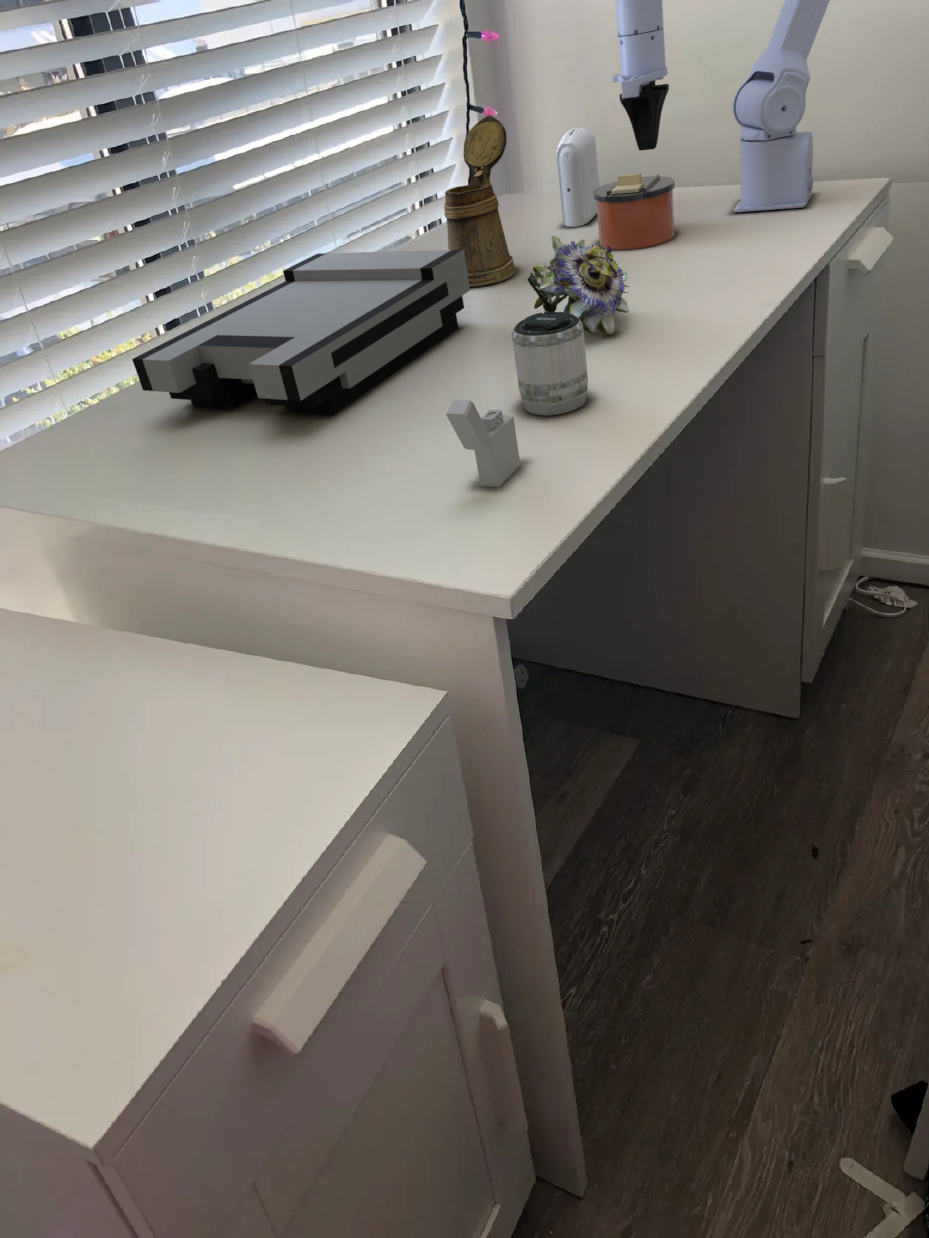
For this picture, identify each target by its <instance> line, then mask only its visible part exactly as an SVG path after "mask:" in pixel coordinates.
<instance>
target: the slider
mask: <svg viewBox="0 0 929 1238" xmlns="http://www.w3.org/2000/svg"><path fill="white" fill-rule="evenodd" d="M641 177H642V173H640V172H639V173H630V174H628V173H627V174H618V175H617V181H618V185H617V186H616V187H615V188H614V189H612V190H611V194H623V193H635V192H639V191H640V190H641V189H642V188H643V187H644V183H642V180H641Z"/></svg>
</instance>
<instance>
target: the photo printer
mask: <svg viewBox="0 0 929 1238" xmlns="http://www.w3.org/2000/svg"><path fill="white" fill-rule="evenodd" d="M555 158H556V159H555V160H556V161H555V162H556V168H557V170H556V171H557V178H558V180H557V181H558V190H559V199H560V209H561V219H562V224H563V226H566V227H567V228H578V227H583V226H584V225H585V224H588V223H589V222H591V220H592V219H593V218H595V216H597V215H596V214H597V204H596V200H595V199H594V196H593V192H594V190H595V189H597V188H598V187H600V177H599V165H598V153H597V141H596V138H595V136H594V134H593V132H592V131H591V130H590V129H589V128H586V127H583V126H582V127H573V128H570V129H569V130H568V131H566V132H565V134H564V135H563V136H562V138H561V139H560V141H559V143H558V145H557V147H556V155H555Z"/></svg>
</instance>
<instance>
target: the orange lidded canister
mask: <svg viewBox="0 0 929 1238" xmlns="http://www.w3.org/2000/svg"><path fill="white" fill-rule="evenodd" d="M641 180H642V183H644V187H643V188H642V189H641V190H640V191H639V192H635V193H623V194H611V190H612V189H614V188H615V187H616V186H617V185H618V180H615V181H613V182H609V183H605V184H603V185H599V187H598V188H597V189H595V190H594V192H593V196H594V199H595V200H596V204H597V213H596V214H597V215H596V216H597V226H598V239H599V240H598V241H599V246H600V247H601V248H604V249H605V246H610V247H611V249H612V250H616V251H617V250H619V251H623V250H625V251H626V250H637V249H643V248H649V247H653V246H657V245H660V244H663V243H666V242H667V241H670V240H672V239H673V238H674V236H675V212H674V191H673V190H674V189H675V187H676V184H675V183H676V181H675V179H674V178H672V177H670V176H661V174H656V175H651V176H649V175H648V176H641Z"/></svg>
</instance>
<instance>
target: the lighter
mask: <svg viewBox="0 0 929 1238" xmlns="http://www.w3.org/2000/svg"><path fill="white" fill-rule="evenodd" d="M445 416H446V417H447V420H448V421H449V423H450V425H451V427H452V428H453V430H454V433H455V434H456V436H457V437H458V438H457V439H459V441H460V443H461V445H462V447H463V448H464V449H465V450H471V451H474V455H475V462H476V466H477V472H478V480H479V485H480V486H481V487H488V488H499V487H501V486H502V485H503V484H504V483H505V482H506V481H507V480H508V479H509V478H510V477H511V476H512V475H513V474H514V473H515V472H516V471H517V470H518V469H519V468H520V467H521V459H520V452H519V445H518V439H517V431H516V424H515V418H514V415H512V414H503V410H501V409H498V408H496V409H489V410H487V411H486V412H485V413H484V414H483V415H482V416H481V415H480V414H479V412H478V410H477V408H476V405H475V404H474V401H472V400H469V399H453V400H452V401H451V403H450V405H449V408H448V410H447V411H446V414H445Z"/></svg>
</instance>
